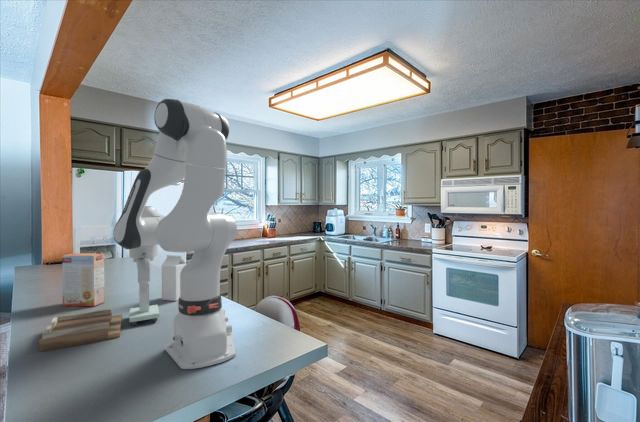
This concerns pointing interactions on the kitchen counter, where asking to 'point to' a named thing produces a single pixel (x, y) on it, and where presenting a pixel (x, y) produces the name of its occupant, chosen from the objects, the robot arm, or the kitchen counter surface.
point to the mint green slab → (144, 309)
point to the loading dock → (80, 329)
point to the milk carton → (171, 277)
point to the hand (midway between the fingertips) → (143, 289)
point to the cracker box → (83, 279)
